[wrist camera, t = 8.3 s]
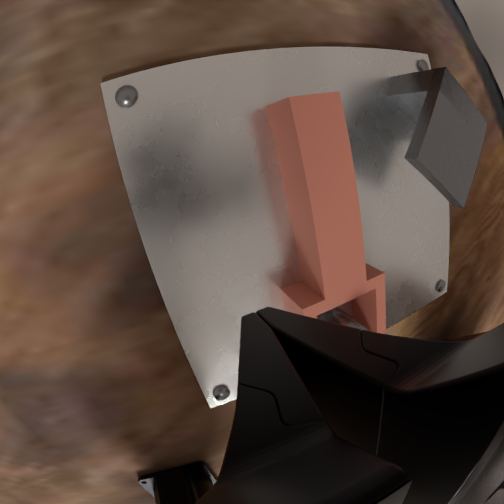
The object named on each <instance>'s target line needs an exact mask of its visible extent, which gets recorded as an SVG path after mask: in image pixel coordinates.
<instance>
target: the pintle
mask: <svg viewBox="0 0 504 504" xmlns="http://www.w3.org/2000/svg"><path fill="white" fill-rule="evenodd" d="M317 316H318V318H319V319H320V320H324V321H328V322H332V323H337V324H341V325H345V326H349V327H354V328H358V329H361V331H362V330H367V331H369V330H368V329H367V328H365V327H364V326H363V325H362V324H360V323H359V322H358V321H356V320H355V319H354V318H352V317H351V316H350V315H348V314H347V313H346V312H345V311H343V310H342V309H341V308H339V307H338V306H337V307H335V308H333V309H331V310H329V311H326V312H324V313H322V314H320V315H317Z"/></svg>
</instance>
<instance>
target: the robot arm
mask: <svg viewBox="0 0 504 504" xmlns="http://www.w3.org/2000/svg"><path fill="white" fill-rule="evenodd" d="M138 481H139V484H140V485H141V486H142V487H143V488H145V489H146V490H147V491H148V492H149V493H150V494H151V495H152V496H153V497H154V498H155V502H156V504H504V323H503V324H501V325H499V326H497V327H496V328H494V329H492V330H490V331H488V332H486V333H485V334H483V335H481V336H479V337H477V338H474V339H471V340H468V341H463V342H446V341H435V340H426V339H416V338H407V337H400V336H393V335H387V334H382V333H377V332H372V331H367V330H362V331H361V329H358V328H354V327H349V326H345V325H341V324H337V323H332V322H328V321H324V320H320V319H316V318H312V317H308V316H304V315H300V314H296V313H292V312H288V311H284V310H280V309H276V308H273V307H265V308H263V309H260V310H258V311H256V313H255V312H252V313H250V314H247V315H244V316H242V318H241V331H240V349H239V368H238V387H237V400H236V409H235V415H234V420H233V424H232V429H231V433H230V437H229V440H228V444H227V448H226V452H225V456H224V460H223V464H222V467H221V470H220V473H219V476H218V478H217V480H216V478H215V477H214V475H213V474H212V473H211V471H210V470H209V468H208V467H207V466H206V464H205V463H204V462H196V463H193V464H189V465H186V466H182V467H179V468H175V469H171V470H167V471H163V472H159V473H155V474H151V475H147V476H142V477H139V478H138Z"/></svg>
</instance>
